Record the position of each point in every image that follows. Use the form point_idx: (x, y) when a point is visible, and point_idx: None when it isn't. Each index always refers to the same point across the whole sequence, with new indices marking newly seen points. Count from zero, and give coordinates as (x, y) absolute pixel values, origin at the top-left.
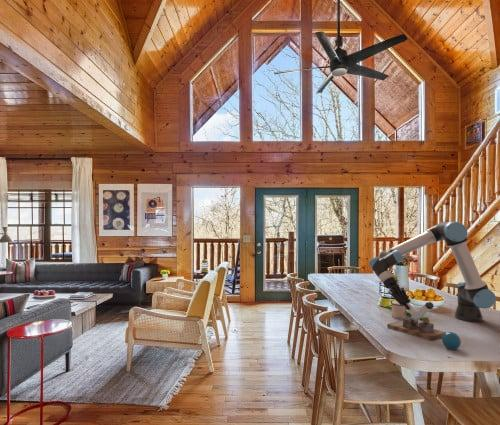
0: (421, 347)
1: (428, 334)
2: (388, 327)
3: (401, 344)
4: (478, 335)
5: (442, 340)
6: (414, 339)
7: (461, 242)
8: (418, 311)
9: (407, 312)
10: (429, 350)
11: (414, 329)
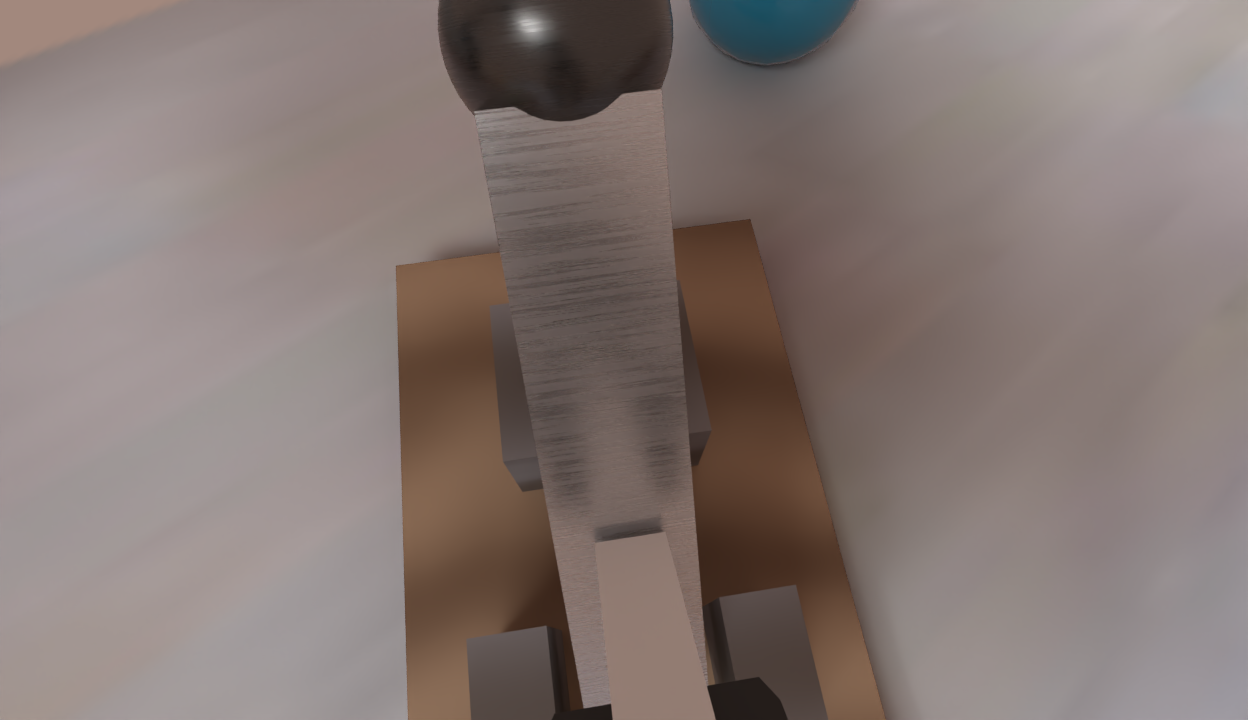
0: (1028, 156)
1: (713, 288)
2: None
3: (1204, 289)
4: (46, 168)
5: (851, 8)
6: (918, 351)
7: None
8: (679, 393)
9: None
10: (1005, 84)
11: (716, 529)
